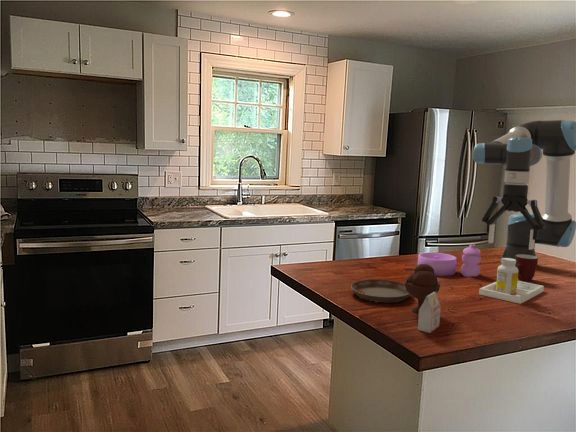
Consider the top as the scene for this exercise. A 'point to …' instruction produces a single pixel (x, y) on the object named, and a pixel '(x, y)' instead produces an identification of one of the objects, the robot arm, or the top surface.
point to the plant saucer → (380, 290)
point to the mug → (526, 266)
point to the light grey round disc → (523, 286)
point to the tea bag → (429, 314)
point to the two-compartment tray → (519, 298)
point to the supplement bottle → (507, 277)
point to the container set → (453, 262)
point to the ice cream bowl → (421, 284)
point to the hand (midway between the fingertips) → (510, 245)
